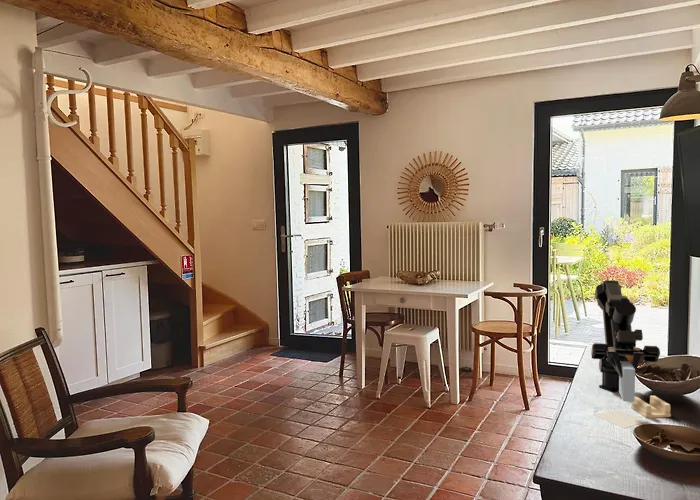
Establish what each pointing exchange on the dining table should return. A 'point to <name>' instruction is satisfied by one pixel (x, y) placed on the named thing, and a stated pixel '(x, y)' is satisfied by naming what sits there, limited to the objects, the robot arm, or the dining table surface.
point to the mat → (620, 418)
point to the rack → (651, 407)
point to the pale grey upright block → (627, 382)
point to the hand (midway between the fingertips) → (627, 377)
